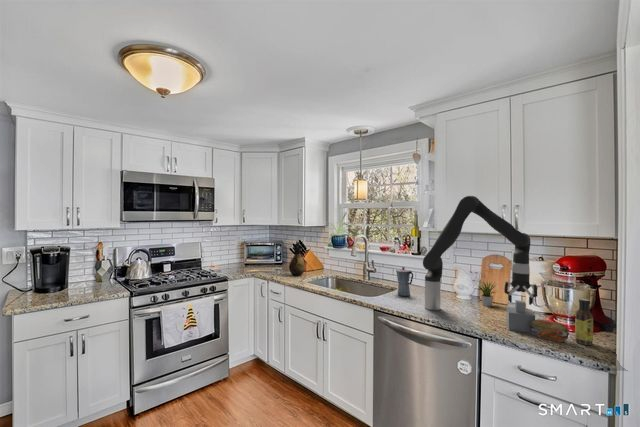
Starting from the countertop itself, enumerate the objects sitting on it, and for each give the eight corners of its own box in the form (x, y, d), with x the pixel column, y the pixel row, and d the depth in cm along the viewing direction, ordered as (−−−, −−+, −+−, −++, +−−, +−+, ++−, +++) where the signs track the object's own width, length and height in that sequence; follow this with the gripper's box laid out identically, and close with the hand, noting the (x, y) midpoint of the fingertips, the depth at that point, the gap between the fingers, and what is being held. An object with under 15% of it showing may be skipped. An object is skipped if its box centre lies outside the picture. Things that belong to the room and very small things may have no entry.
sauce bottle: (590, 347, 139) (590, 302, 139) (573, 342, 144) (573, 299, 144) (594, 344, 143) (595, 300, 143) (577, 339, 148) (577, 297, 148)
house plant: (498, 303, 209) (498, 278, 209) (504, 309, 195) (504, 282, 195) (474, 301, 213) (475, 277, 213) (478, 307, 199) (479, 281, 200)
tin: (529, 335, 153) (529, 317, 153) (530, 333, 155) (530, 316, 155) (568, 344, 142) (568, 325, 142) (569, 342, 144) (569, 324, 144)
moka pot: (399, 292, 237) (399, 265, 237) (417, 296, 225) (417, 268, 225) (391, 294, 231) (391, 266, 231) (409, 298, 219) (410, 269, 219)
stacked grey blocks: (508, 330, 160) (508, 302, 160) (506, 323, 170) (506, 297, 170) (535, 333, 155) (535, 305, 155) (531, 326, 165) (531, 300, 165)
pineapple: (308, 276, 294) (308, 244, 295) (293, 277, 286) (293, 244, 286) (299, 273, 309) (300, 242, 309) (285, 274, 301) (285, 243, 301)
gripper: (505, 271, 162) (505, 303, 162) (538, 274, 156) (538, 307, 156) (504, 269, 169) (503, 299, 169) (535, 272, 163) (535, 303, 163)
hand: (520, 303), depth 163 cm, fingers open, 8 cm apart
